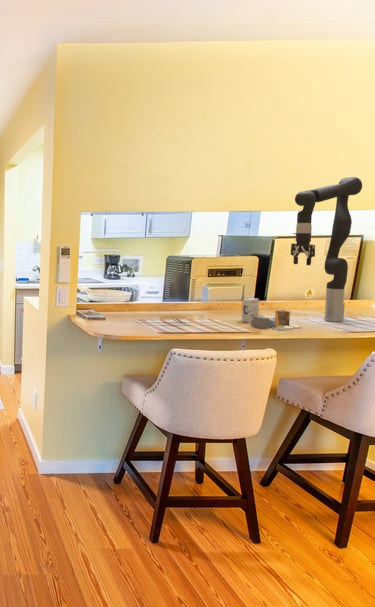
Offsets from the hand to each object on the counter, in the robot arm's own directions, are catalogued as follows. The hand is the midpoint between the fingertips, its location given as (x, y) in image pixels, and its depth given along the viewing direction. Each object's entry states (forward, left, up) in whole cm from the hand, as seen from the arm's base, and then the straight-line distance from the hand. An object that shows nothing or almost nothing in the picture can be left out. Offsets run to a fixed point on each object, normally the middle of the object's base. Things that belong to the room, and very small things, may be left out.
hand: (302, 264), depth 291 cm
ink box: (+18, -17, -30) cm, 39 cm away
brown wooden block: (+10, -2, -30) cm, 32 cm away
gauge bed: (+17, 0, -30) cm, 34 cm away
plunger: (+18, +1, -30) cm, 35 cm away
